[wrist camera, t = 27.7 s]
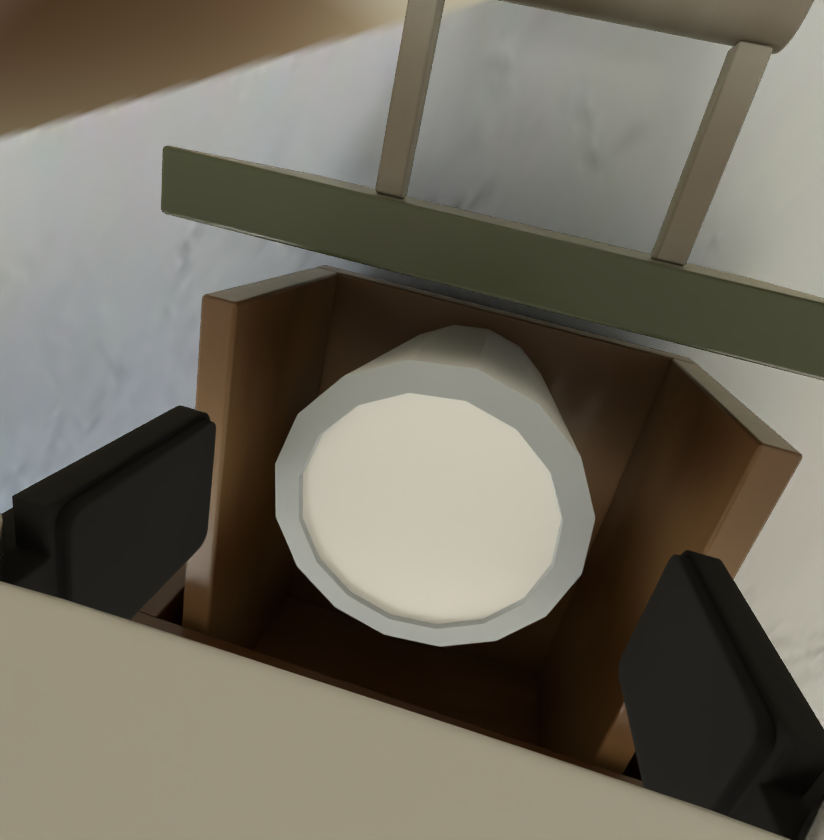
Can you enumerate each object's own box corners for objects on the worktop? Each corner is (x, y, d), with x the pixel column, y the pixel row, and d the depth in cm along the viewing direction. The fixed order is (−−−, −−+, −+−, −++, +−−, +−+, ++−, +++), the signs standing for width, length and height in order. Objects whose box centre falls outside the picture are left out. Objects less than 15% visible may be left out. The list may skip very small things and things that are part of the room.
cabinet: (272, 463, 22) (101, 629, 13) (626, 568, 21) (702, 836, 12) (236, 745, 29) (107, 980, 20) (500, 839, 28) (488, 1138, 19)
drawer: (342, -25, 15) (171, -249, 8) (845, 74, 14) (1208, -85, 6) (261, 581, 23) (144, 745, 16) (568, 680, 22) (589, 906, 15)
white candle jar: (616, 403, 17) (675, 522, 10) (471, 537, 19) (444, 697, 13) (448, 256, 16) (396, 283, 10) (322, 415, 19) (216, 519, 12)
